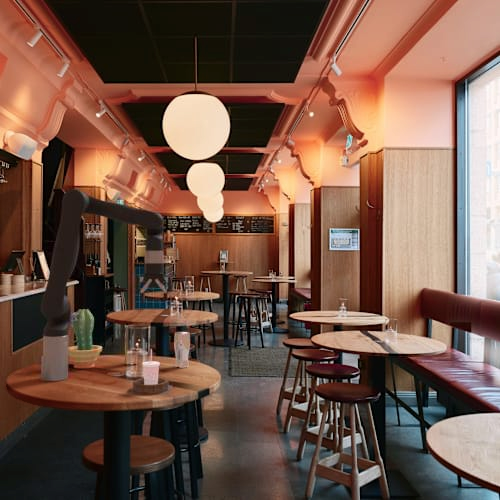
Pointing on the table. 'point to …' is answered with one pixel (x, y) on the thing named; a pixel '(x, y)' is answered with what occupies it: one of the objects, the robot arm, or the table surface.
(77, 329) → the potted cactus
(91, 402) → the table surface
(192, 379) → the table surface
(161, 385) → the bowl
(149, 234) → the robot arm
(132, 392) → the mat
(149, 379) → the beverage cup
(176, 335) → the beer glass
